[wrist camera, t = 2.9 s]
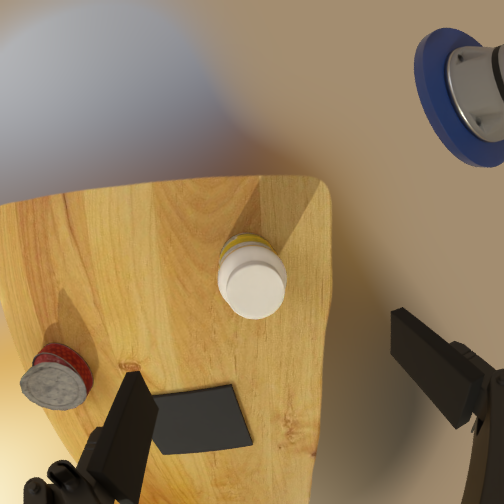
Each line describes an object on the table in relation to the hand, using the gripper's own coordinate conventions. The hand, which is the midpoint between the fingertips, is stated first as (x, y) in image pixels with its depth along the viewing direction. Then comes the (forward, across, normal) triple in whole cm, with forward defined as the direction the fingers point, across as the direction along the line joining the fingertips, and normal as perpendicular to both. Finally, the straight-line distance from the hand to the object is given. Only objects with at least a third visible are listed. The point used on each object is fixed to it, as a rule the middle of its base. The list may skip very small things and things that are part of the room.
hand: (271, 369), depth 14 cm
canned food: (+21, -31, -11) cm, 39 cm away
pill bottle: (+21, 0, 0) cm, 21 cm away
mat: (+21, -14, -24) cm, 35 cm away
